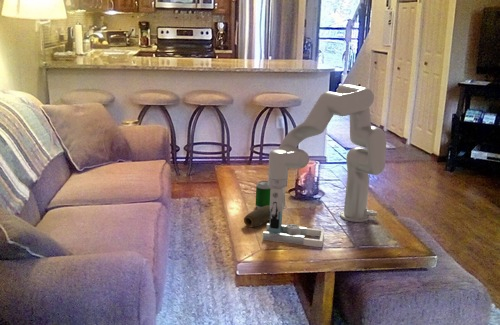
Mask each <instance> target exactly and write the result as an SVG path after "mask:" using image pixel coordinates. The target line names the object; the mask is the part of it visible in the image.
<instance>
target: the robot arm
mask: <svg viewBox="0 0 500 325" xmlns="http://www.w3.org/2000/svg"><path fill="white" fill-rule="evenodd" d="M374 100H375V94H374V92H373V90H372V89H370V88H369V87H365V86H361V85H360V86H358V85H355V84H349V83H348V84H347V83H346V84H341V85H338V87H337V89H336V91H325V92H323V93H321V94H320V95H319V97H318V99H317V101H315V104H314V105H313V107H312V109H311V110H310V112H309V113H308V115H307V116H306V118H305V119H304V121H303V122H301V123H300V124H298V125H297V126H296V127H294V128H292V129H291V130H290V131H289V132H288V133H287V134H286V135H285V137H284V138H283V140H282V141H281V143H280V145H279V147H278V149H272V150H270V151H269V155H268V156H269V157H268V176H267V177H268V178H267V181H268V186H270V187H271V190H270V211H272V213H271V224H270V228H275V229H278V228H279V219H278V217H279V212H280V213H281V212H282V213H283V211H284V209H285V206H286V188H287V187H288V182H289V180H288V179H289V169H291V170H292V169H294V170H300V169H304V168H305V167H307V166H308V164H309V162H310V156H309V154H308V152H306V151H305V150H303V149H300V148H298V146H299V144H300V143H302V142H303V141H304V140H306V139H308V138H310V137H315V136H319V135H321V134H322V133H324V131H325V129H326V128H327V127H328V125H329V123H330V122H331V120H332V119H333V117H334V116H339V117H346V116H349V138H350V139H349V140H350V142H351V143H352V144H353V145H356V146H355V147H352V148H350V149H349V150H348V152H347V154H346V157H345V158H346V159H345V160H346V170H347V171H346V172H347V175H346V185H345V186H346V187H345V196H344V197H345V198H344V208H343V210H342V211H341V212H340V214H339V216H340V217H341V219H343V220H344V221H348V222H352V223H365V222H367V221H369V220H370V216H371V217H378V216H377V214H378V211H375V210H371V209H370V210H369V209H368V197H369V187H370V186H369V185H370V175H373V176H378V175H380V174H382V173H383V171H384V170H385V167H386V163H387V162H386V161H387V136H386V133H385V131H384V130H383V129H382V128H380V127H378V126H374V125H372V124H371V123H372V122H371V109H370V108H371V106H372V105H373V103H374ZM276 210H278V211H276ZM276 213H277V214H276Z"/></svg>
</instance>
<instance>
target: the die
mask: <svg viewBox="0 0 500 325" xmlns="http://www.w3.org/2000/svg"><path fill="white" fill-rule="evenodd" d="M286 225H287V226H286V227H285V233H284V234H293V235H301V231H300V227H301V226H299V225H298V224H295V223H289V224H286Z"/></svg>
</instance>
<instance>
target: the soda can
mask: <svg viewBox="0 0 500 325" xmlns="http://www.w3.org/2000/svg"><path fill="white" fill-rule="evenodd" d="M255 186H256V187H255V207H256V208H257V209H259V208H261V207H263V206H266V205H269V206H270V190H271V187H270V186H268V180H260V181H258V182H257V183H256V185H255Z"/></svg>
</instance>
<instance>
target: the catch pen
mask: <svg viewBox="0 0 500 325" xmlns="http://www.w3.org/2000/svg"><path fill="white" fill-rule="evenodd" d="M306 236H314V237H319V239H316V238H307V237H304V245H303V246H308V247H315V248H316V247H317V248H322V247H323V242H324V236H325V230H324V229H317V228H308V227H307V229H306Z"/></svg>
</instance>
